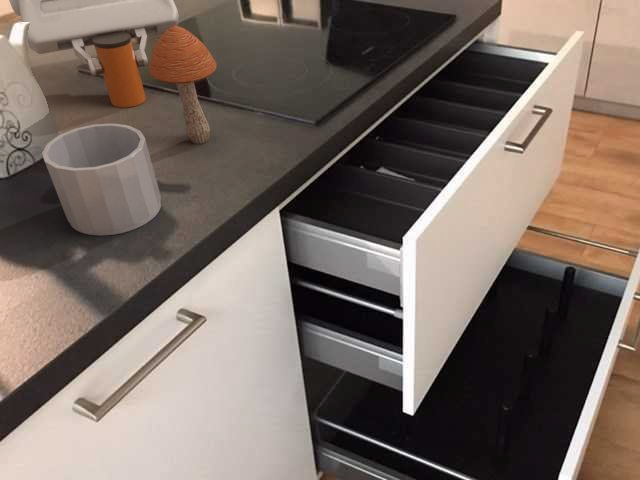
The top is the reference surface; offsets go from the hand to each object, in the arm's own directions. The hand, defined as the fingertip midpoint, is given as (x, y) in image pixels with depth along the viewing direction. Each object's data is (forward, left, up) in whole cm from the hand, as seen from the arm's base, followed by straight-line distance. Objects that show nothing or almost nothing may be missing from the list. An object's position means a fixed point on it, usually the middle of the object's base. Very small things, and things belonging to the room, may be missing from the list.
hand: (120, 68), depth 91 cm
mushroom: (+5, -16, -5) cm, 18 cm away
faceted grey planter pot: (-8, -27, -5) cm, 29 cm away
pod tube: (0, +1, -5) cm, 5 cm away
